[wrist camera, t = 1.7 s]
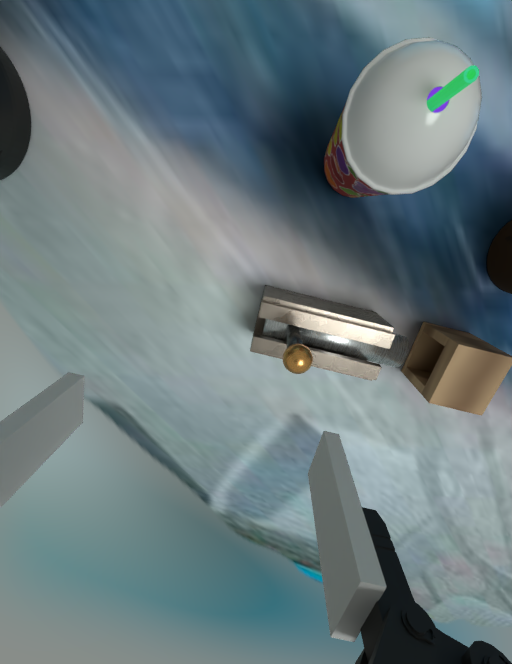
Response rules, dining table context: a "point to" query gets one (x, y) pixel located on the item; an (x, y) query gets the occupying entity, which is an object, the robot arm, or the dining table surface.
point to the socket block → (455, 368)
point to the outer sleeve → (322, 329)
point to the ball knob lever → (330, 346)
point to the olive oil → (501, 259)
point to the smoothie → (405, 120)
